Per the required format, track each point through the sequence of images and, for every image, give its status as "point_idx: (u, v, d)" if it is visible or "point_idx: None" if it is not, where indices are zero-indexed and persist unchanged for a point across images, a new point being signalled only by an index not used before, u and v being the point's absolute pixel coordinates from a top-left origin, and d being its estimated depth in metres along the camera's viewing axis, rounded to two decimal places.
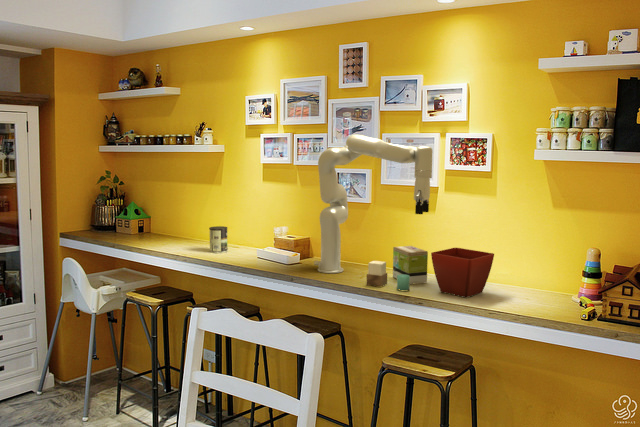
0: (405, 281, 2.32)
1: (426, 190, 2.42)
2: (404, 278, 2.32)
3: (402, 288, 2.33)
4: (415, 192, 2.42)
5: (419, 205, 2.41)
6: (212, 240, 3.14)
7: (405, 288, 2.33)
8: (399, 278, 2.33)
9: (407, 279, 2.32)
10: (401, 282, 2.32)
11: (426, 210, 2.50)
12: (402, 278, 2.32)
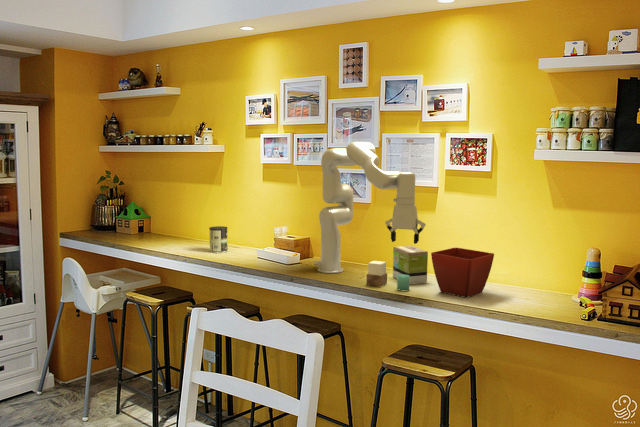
0: (405, 281, 2.32)
1: None
2: (404, 278, 2.32)
3: (402, 288, 2.33)
4: (415, 221, 2.28)
5: (418, 234, 2.30)
6: (212, 240, 3.14)
7: (405, 288, 2.33)
8: (399, 278, 2.33)
9: (407, 279, 2.32)
10: (401, 282, 2.32)
11: (395, 239, 2.35)
12: (402, 278, 2.32)
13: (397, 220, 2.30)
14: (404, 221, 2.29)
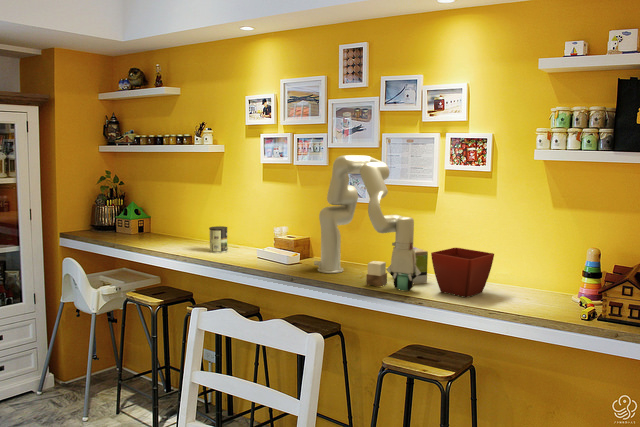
0: (405, 281, 2.32)
1: None
2: (404, 278, 2.32)
3: (402, 288, 2.32)
4: (413, 266, 2.30)
5: None
6: (212, 240, 3.14)
7: (405, 288, 2.33)
8: (399, 277, 2.33)
9: (407, 279, 2.33)
10: (401, 282, 2.32)
11: None
12: (402, 278, 2.32)
13: (396, 264, 2.33)
14: (403, 265, 2.31)
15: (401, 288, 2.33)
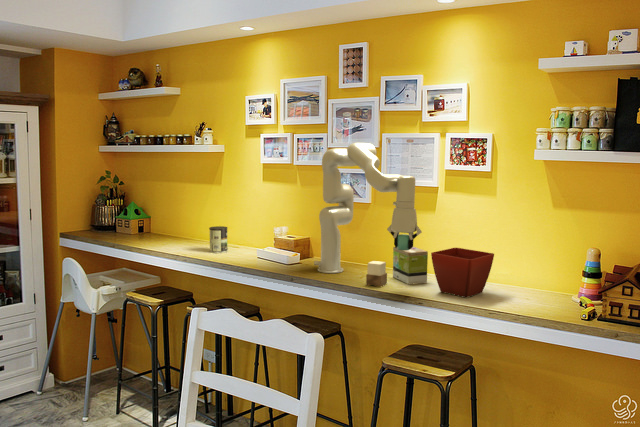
0: (406, 240, 2.31)
1: None
2: (405, 237, 2.30)
3: (403, 247, 2.31)
4: (414, 224, 2.28)
5: (412, 239, 2.32)
6: (212, 240, 3.14)
7: (406, 247, 2.31)
8: (400, 237, 2.31)
9: (408, 238, 2.31)
10: (402, 242, 2.31)
11: None
12: (403, 237, 2.30)
13: (396, 223, 2.31)
14: (403, 224, 2.29)
15: (401, 247, 2.31)
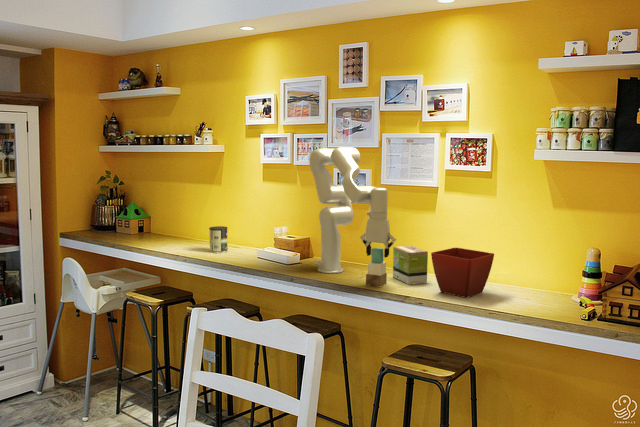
0: (379, 254, 2.40)
1: None
2: (378, 251, 2.39)
3: (376, 261, 2.40)
4: (387, 235, 2.37)
5: (388, 248, 2.40)
6: (212, 240, 3.14)
7: (379, 261, 2.40)
8: (373, 251, 2.40)
9: (381, 252, 2.40)
10: (375, 255, 2.40)
11: (370, 253, 2.44)
12: (376, 251, 2.39)
13: (370, 234, 2.40)
14: (377, 235, 2.38)
15: (375, 261, 2.40)
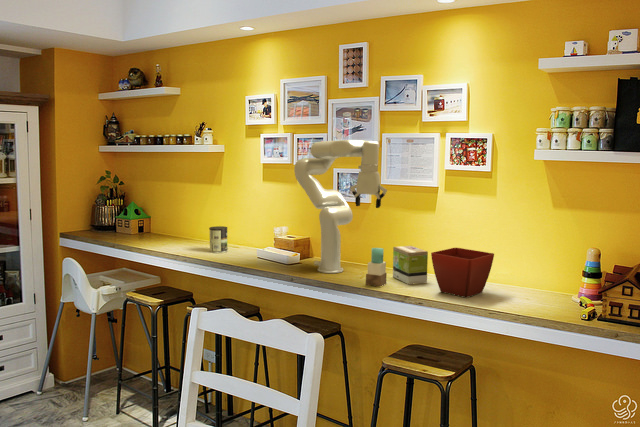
0: (379, 253, 2.40)
1: None
2: (378, 250, 2.40)
3: (376, 260, 2.40)
4: (377, 187, 2.44)
5: (380, 199, 2.46)
6: (212, 240, 3.14)
7: (379, 260, 2.40)
8: (373, 250, 2.40)
9: (381, 251, 2.40)
10: (375, 255, 2.40)
11: (359, 204, 2.52)
12: (376, 250, 2.40)
13: (361, 186, 2.46)
14: (367, 187, 2.45)
15: (375, 260, 2.40)
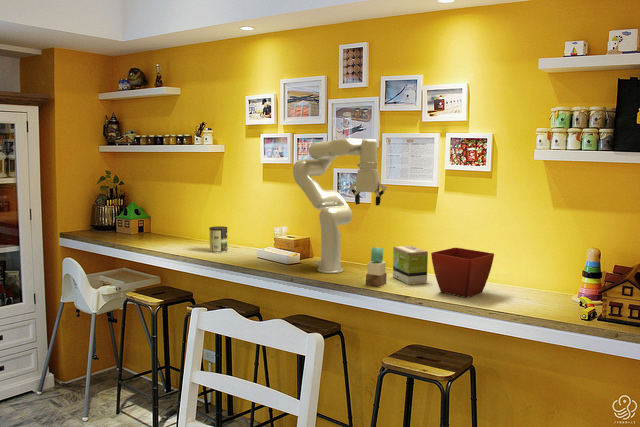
0: (380, 252, 2.41)
1: None
2: (379, 249, 2.40)
3: (377, 259, 2.40)
4: (376, 184, 2.45)
5: (380, 196, 2.47)
6: (212, 240, 3.14)
7: (380, 259, 2.40)
8: (374, 249, 2.41)
9: (382, 250, 2.41)
10: (376, 253, 2.40)
11: (359, 202, 2.52)
12: (377, 249, 2.40)
13: (360, 184, 2.47)
14: (366, 184, 2.46)
15: (376, 259, 2.40)
